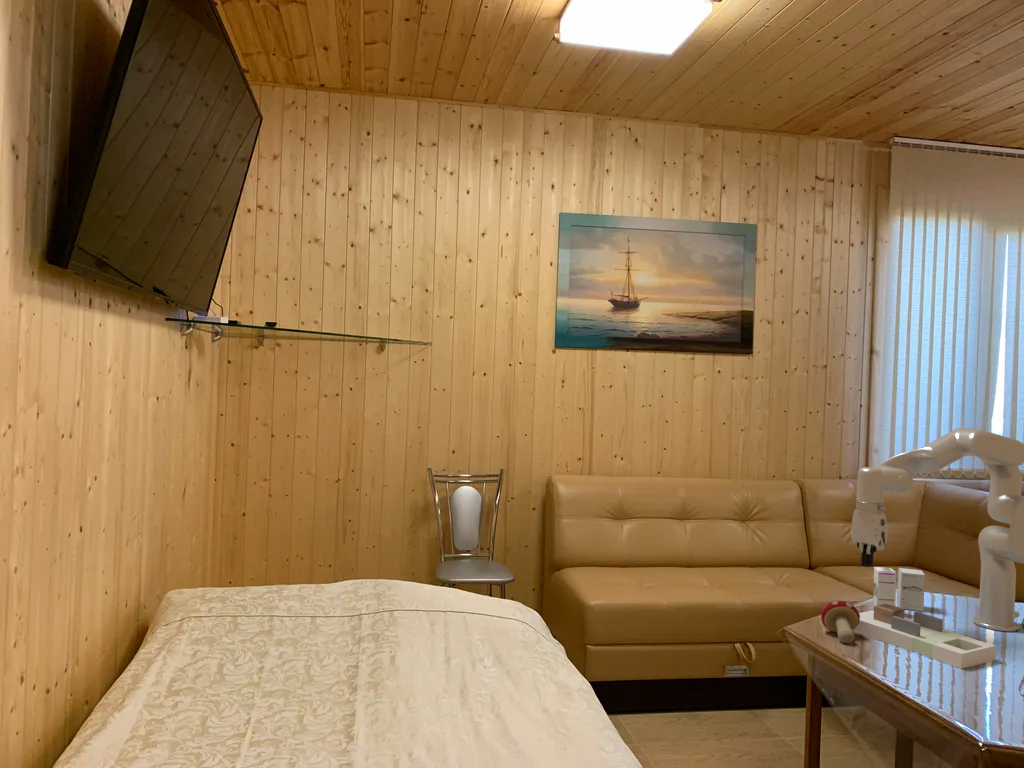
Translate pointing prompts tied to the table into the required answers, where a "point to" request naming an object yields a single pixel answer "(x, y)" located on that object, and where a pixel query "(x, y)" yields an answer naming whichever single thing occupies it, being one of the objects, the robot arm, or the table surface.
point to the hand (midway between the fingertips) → (866, 565)
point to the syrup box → (884, 586)
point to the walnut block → (887, 613)
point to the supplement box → (910, 589)
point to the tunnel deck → (927, 639)
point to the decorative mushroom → (841, 619)
